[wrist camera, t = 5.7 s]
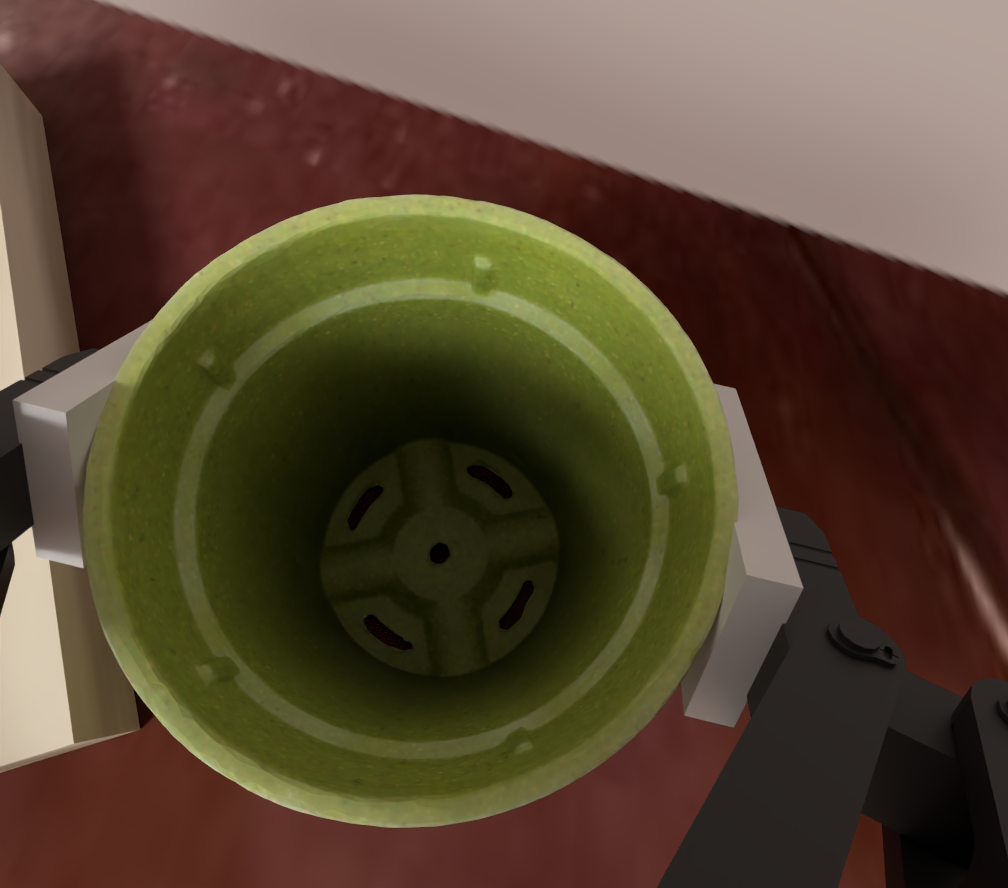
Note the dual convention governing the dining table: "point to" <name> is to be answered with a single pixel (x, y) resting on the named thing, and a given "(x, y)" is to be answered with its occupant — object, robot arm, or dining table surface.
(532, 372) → the plant pot
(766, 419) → the dining table surface
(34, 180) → the plinth
